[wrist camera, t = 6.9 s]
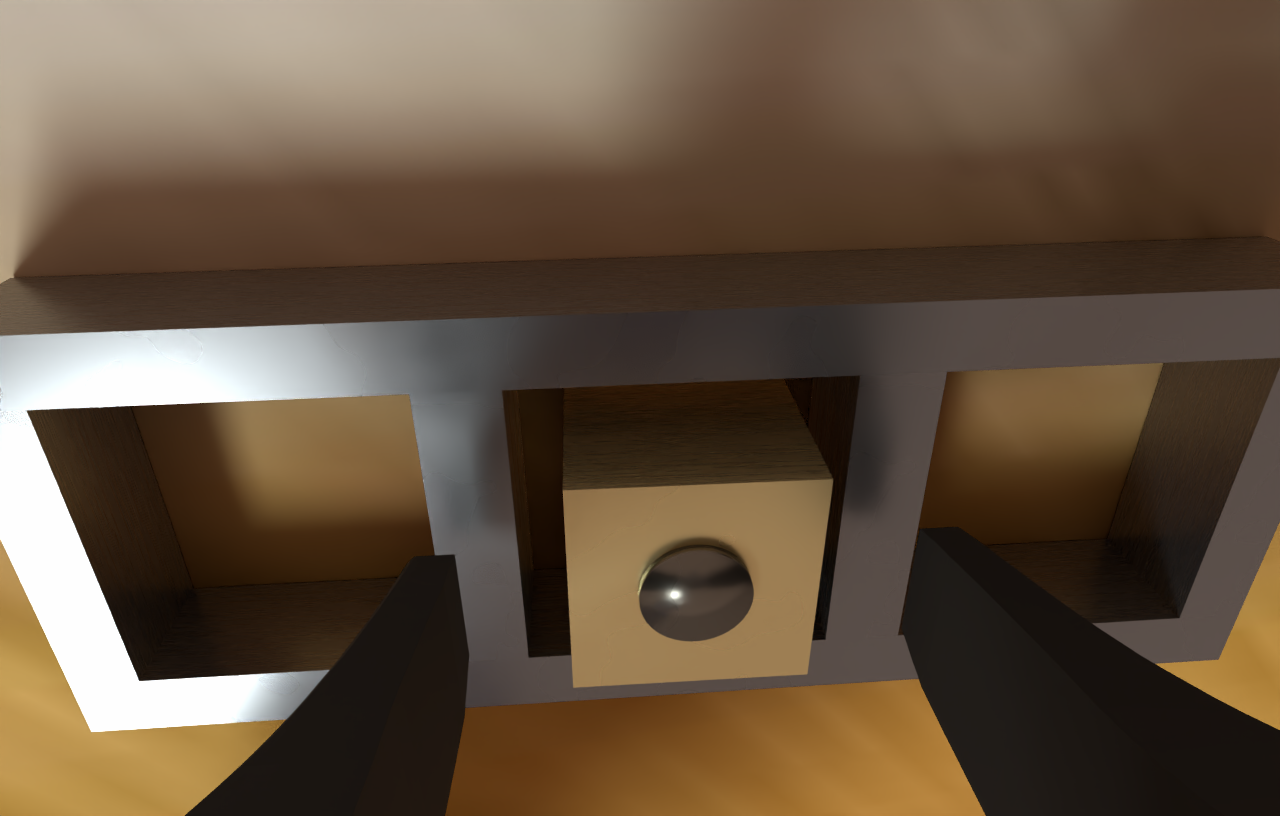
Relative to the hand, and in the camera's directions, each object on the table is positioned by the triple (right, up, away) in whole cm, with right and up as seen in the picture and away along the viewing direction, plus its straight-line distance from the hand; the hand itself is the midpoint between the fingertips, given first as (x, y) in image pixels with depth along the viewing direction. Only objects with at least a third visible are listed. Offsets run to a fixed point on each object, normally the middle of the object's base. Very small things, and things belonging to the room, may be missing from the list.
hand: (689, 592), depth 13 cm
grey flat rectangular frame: (0, +2, +3) cm, 4 cm away
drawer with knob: (0, +2, +4) cm, 4 cm away
